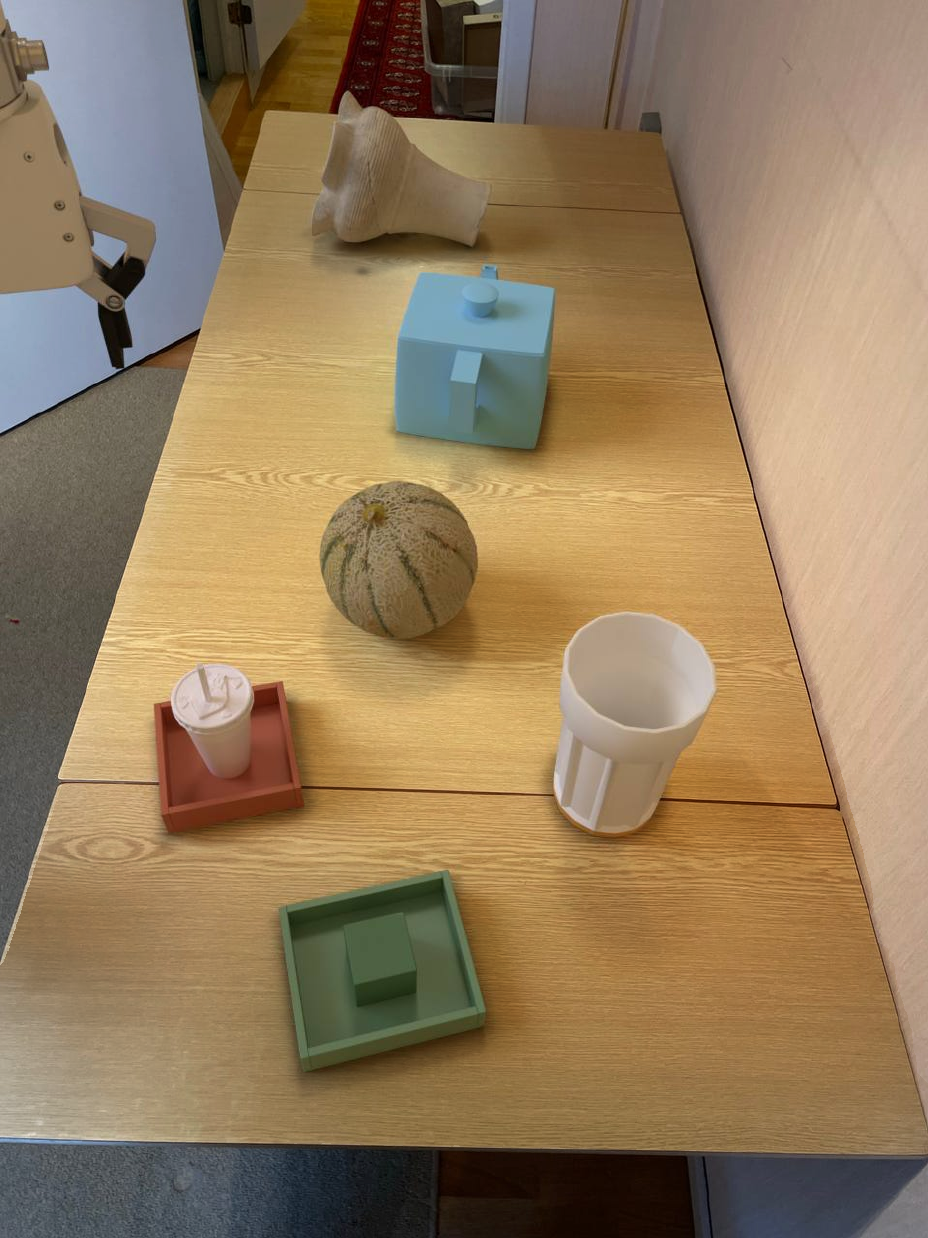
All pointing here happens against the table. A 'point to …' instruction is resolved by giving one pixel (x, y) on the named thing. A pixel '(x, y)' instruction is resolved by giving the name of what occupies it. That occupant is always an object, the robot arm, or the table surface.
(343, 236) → the vase
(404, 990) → the green block
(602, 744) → the cup
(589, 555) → the table surface
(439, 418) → the container
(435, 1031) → the green tray
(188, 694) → the smoothie
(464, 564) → the cantaloupe
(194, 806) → the terracotta tray
